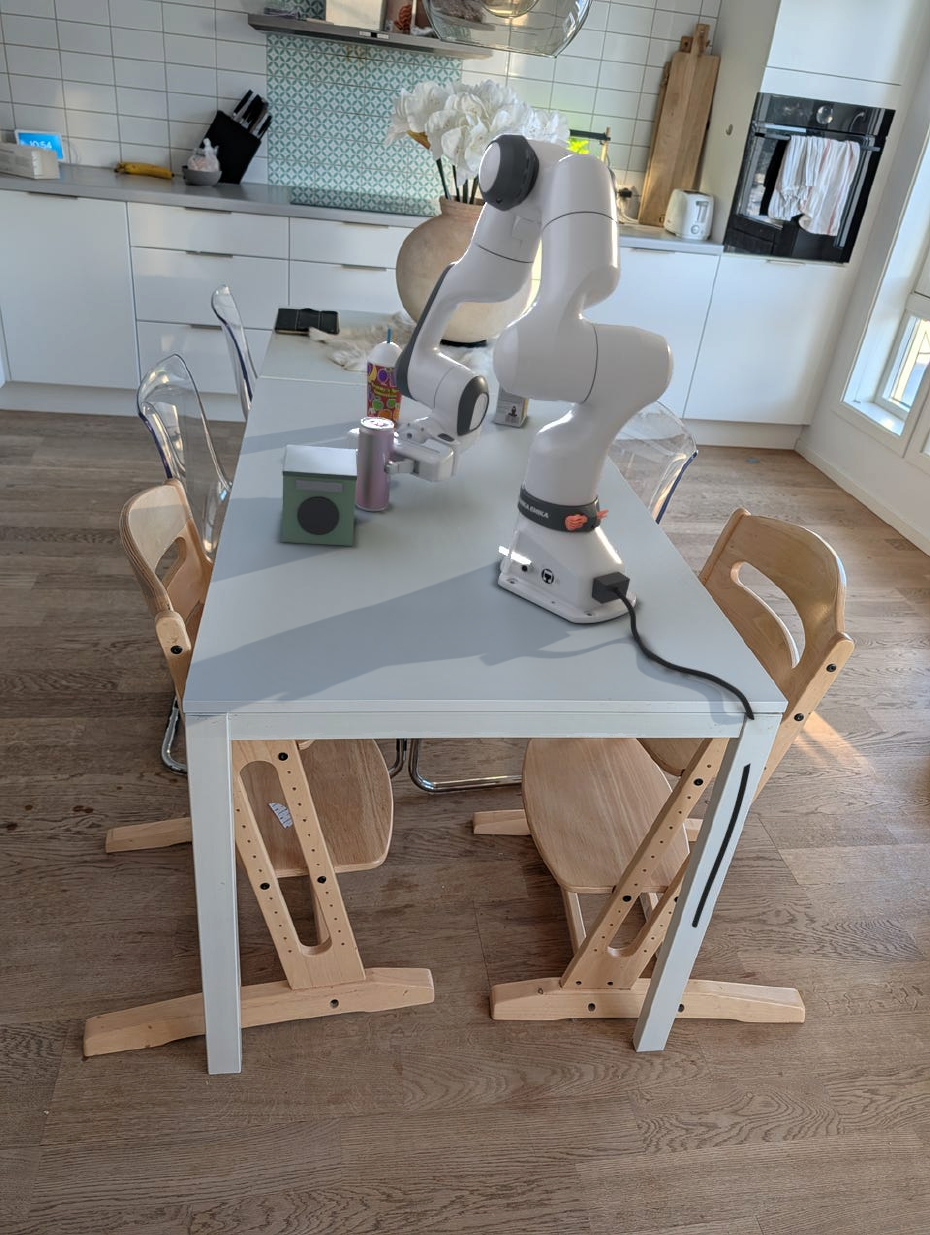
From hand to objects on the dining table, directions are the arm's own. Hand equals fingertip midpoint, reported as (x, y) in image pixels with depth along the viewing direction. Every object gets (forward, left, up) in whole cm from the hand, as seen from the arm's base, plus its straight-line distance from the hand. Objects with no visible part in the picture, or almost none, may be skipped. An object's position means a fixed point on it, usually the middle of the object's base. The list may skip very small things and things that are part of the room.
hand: (371, 463), depth 155 cm
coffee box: (+27, -57, -8) cm, 64 cm away
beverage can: (0, -1, -8) cm, 8 cm away
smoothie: (+35, -27, -8) cm, 45 cm away
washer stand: (-4, +12, -8) cm, 15 cm away
